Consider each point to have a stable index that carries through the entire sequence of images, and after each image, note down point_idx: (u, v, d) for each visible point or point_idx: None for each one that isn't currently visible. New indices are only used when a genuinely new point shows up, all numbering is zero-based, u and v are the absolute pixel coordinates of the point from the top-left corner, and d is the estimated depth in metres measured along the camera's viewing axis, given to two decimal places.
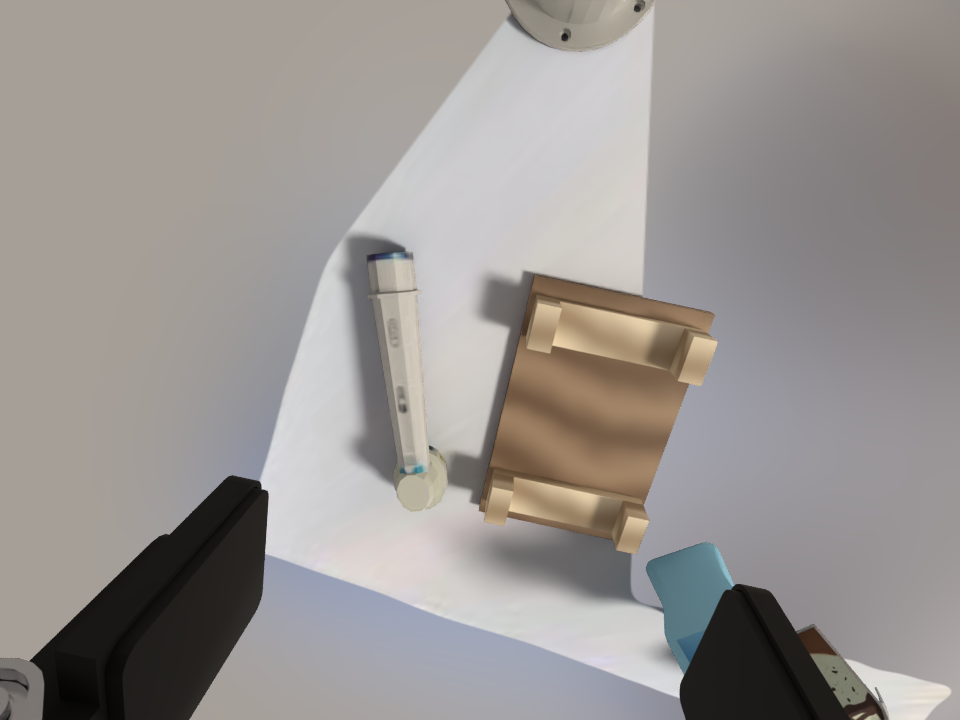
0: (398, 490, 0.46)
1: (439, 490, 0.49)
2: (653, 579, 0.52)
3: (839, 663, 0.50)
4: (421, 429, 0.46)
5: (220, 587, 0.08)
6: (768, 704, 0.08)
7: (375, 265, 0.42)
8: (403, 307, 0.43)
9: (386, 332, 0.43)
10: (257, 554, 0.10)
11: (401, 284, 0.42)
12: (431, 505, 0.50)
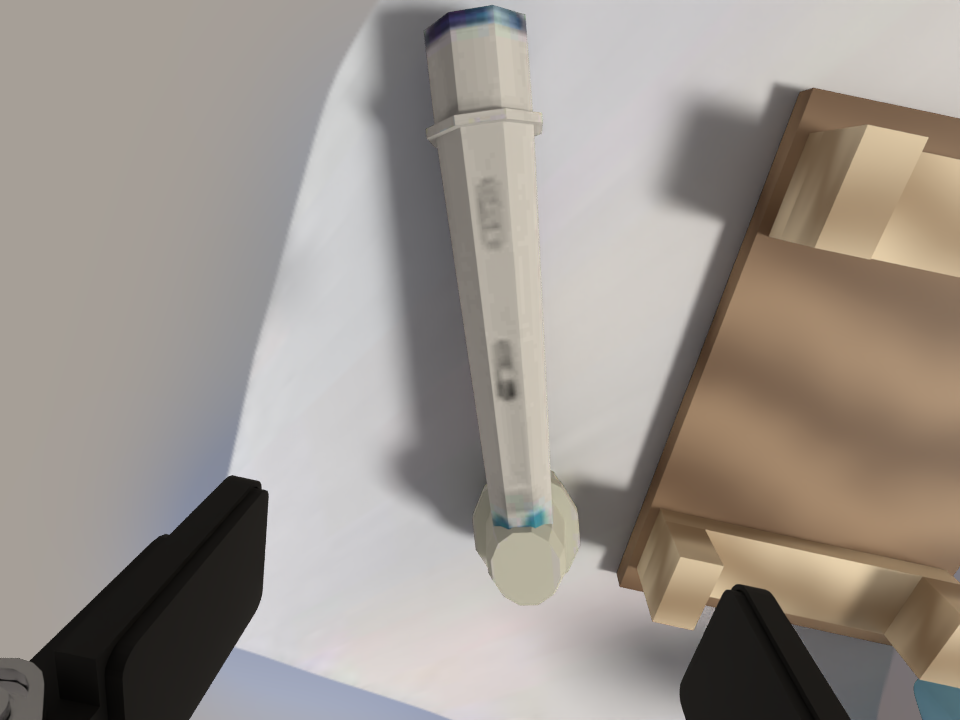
0: (494, 563, 0.22)
1: (565, 552, 0.25)
2: (944, 713, 0.28)
3: None
4: (543, 435, 0.21)
5: (220, 587, 0.08)
6: (768, 704, 0.08)
7: (448, 44, 0.17)
8: (514, 150, 0.18)
9: (474, 214, 0.18)
10: (257, 554, 0.10)
11: (510, 93, 0.18)
12: None
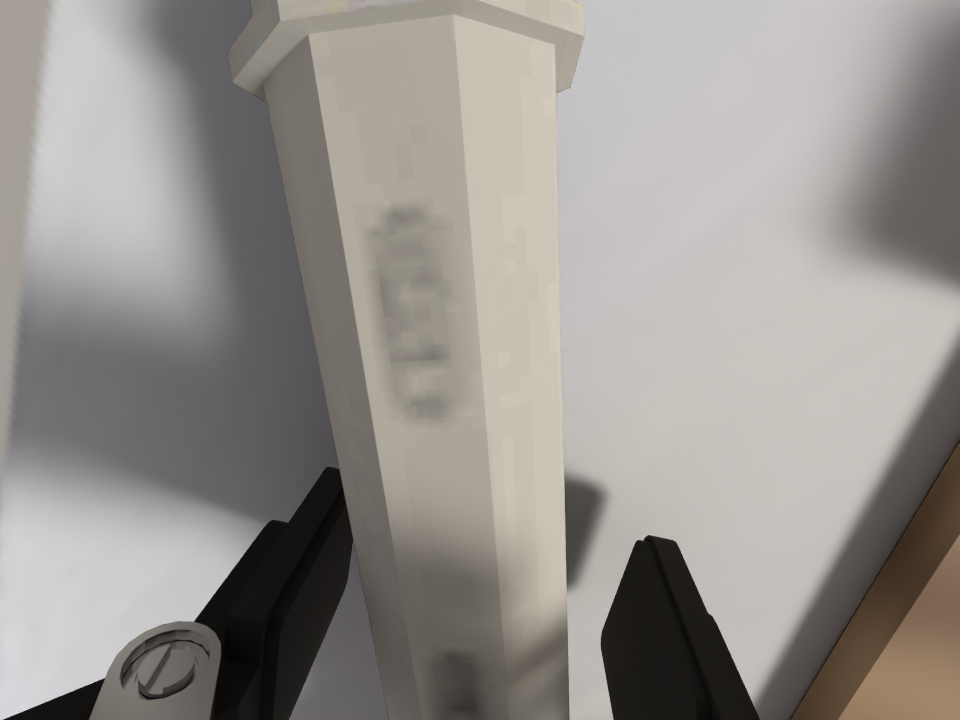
0: None
1: None
2: None
3: None
4: None
5: (329, 567, 0.09)
6: (656, 633, 0.09)
7: None
8: (492, 118, 0.06)
9: (365, 316, 0.06)
10: (349, 539, 0.10)
11: None
12: None
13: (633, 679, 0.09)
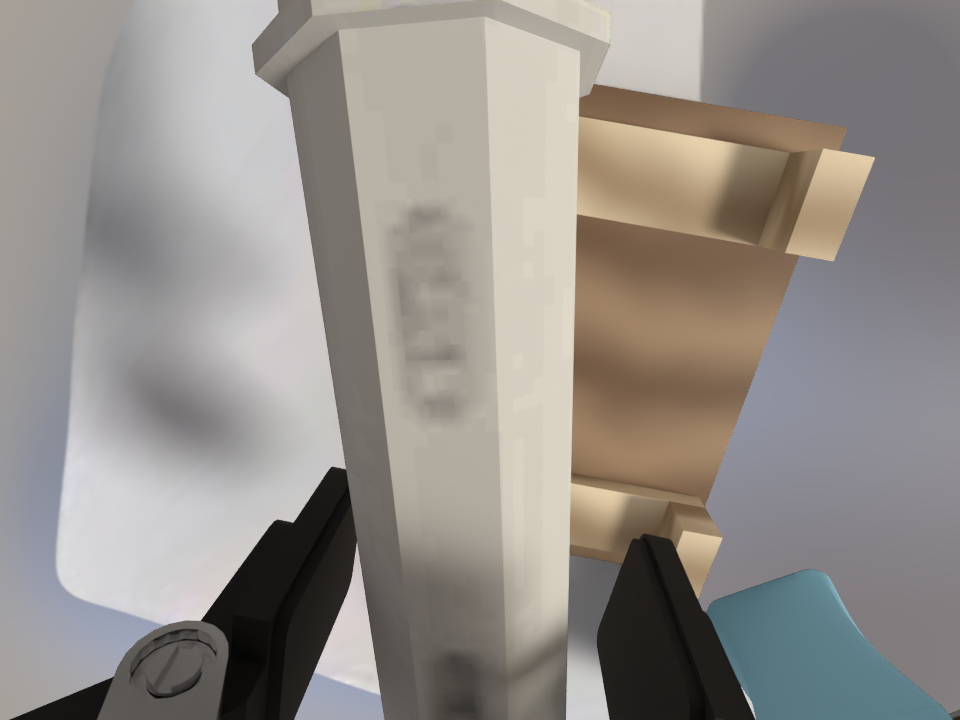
0: None
1: None
2: (722, 635, 0.30)
3: None
4: None
5: (335, 566, 0.09)
6: (651, 631, 0.09)
7: None
8: (517, 121, 0.06)
9: (382, 315, 0.06)
10: (353, 539, 0.11)
11: None
12: None
13: (628, 676, 0.09)
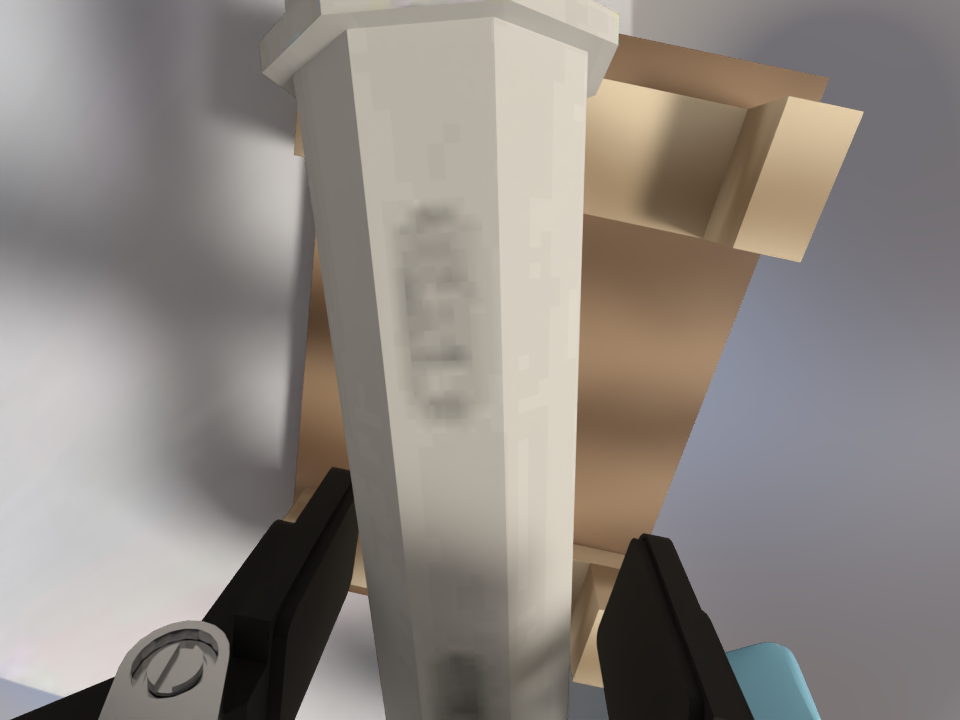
0: None
1: None
2: None
3: None
4: None
5: (335, 566, 0.09)
6: (651, 631, 0.09)
7: None
8: (525, 122, 0.06)
9: (388, 314, 0.06)
10: (354, 539, 0.11)
11: None
12: None
13: (628, 676, 0.09)
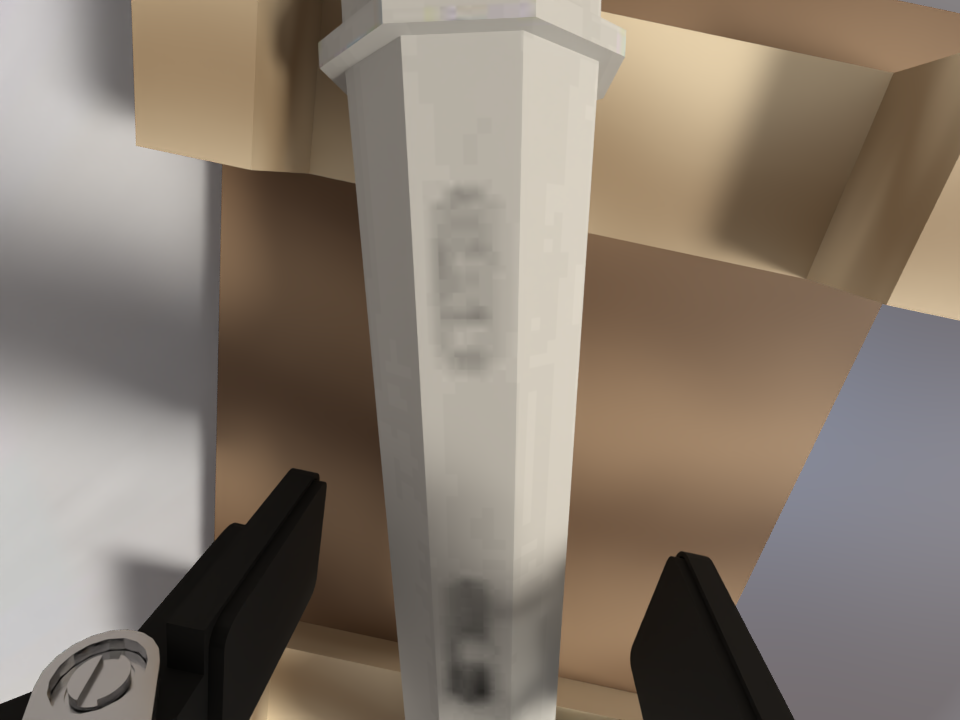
0: None
1: None
2: None
3: None
4: None
5: (290, 571, 0.09)
6: (696, 656, 0.08)
7: None
8: (544, 118, 0.07)
9: (423, 278, 0.07)
10: (315, 542, 0.10)
11: None
12: None
13: (670, 702, 0.09)
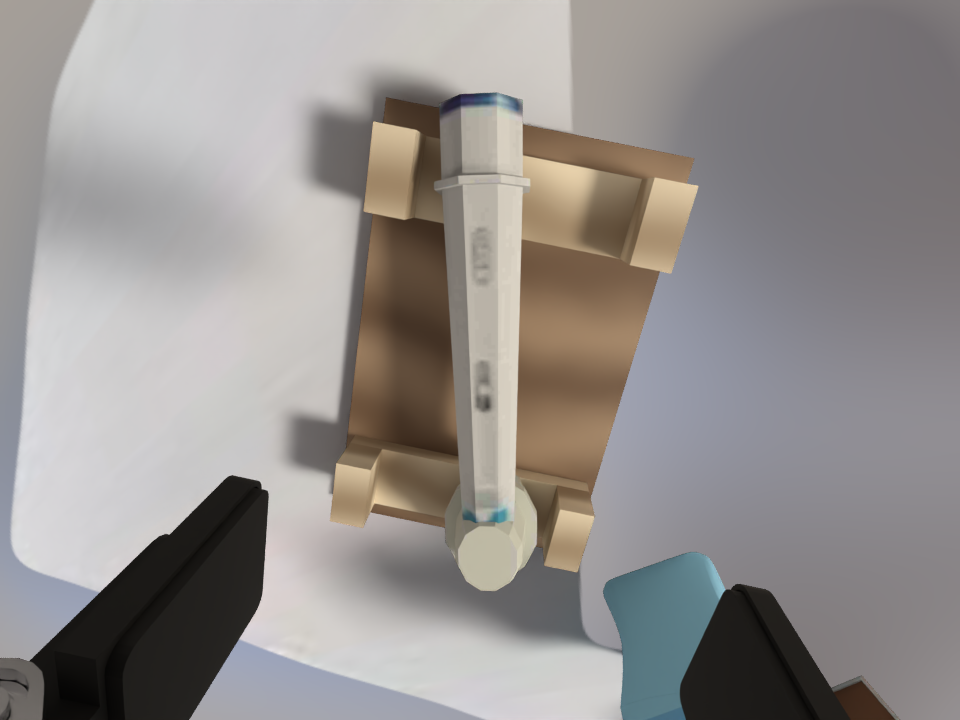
0: (460, 551, 0.26)
1: (523, 549, 0.29)
2: (612, 610, 0.34)
3: None
4: (511, 444, 0.25)
5: (220, 587, 0.08)
6: (768, 704, 0.08)
7: (458, 118, 0.21)
8: (505, 206, 0.22)
9: (468, 255, 0.22)
10: (257, 554, 0.10)
11: (505, 161, 0.22)
12: None
13: None
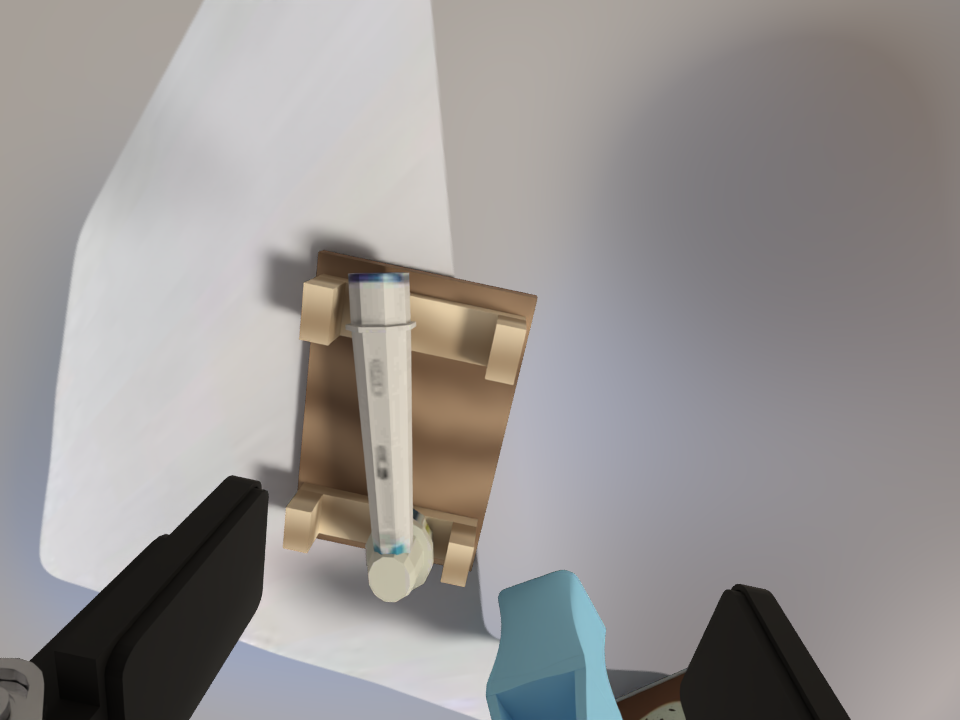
0: (370, 574, 0.36)
1: (422, 571, 0.39)
2: None
3: None
4: (405, 500, 0.35)
5: (220, 587, 0.08)
6: (768, 704, 0.08)
7: (358, 288, 0.32)
8: (392, 345, 0.32)
9: (368, 376, 0.33)
10: (257, 554, 0.10)
11: (391, 316, 0.32)
12: None
13: None
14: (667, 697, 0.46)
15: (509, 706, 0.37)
